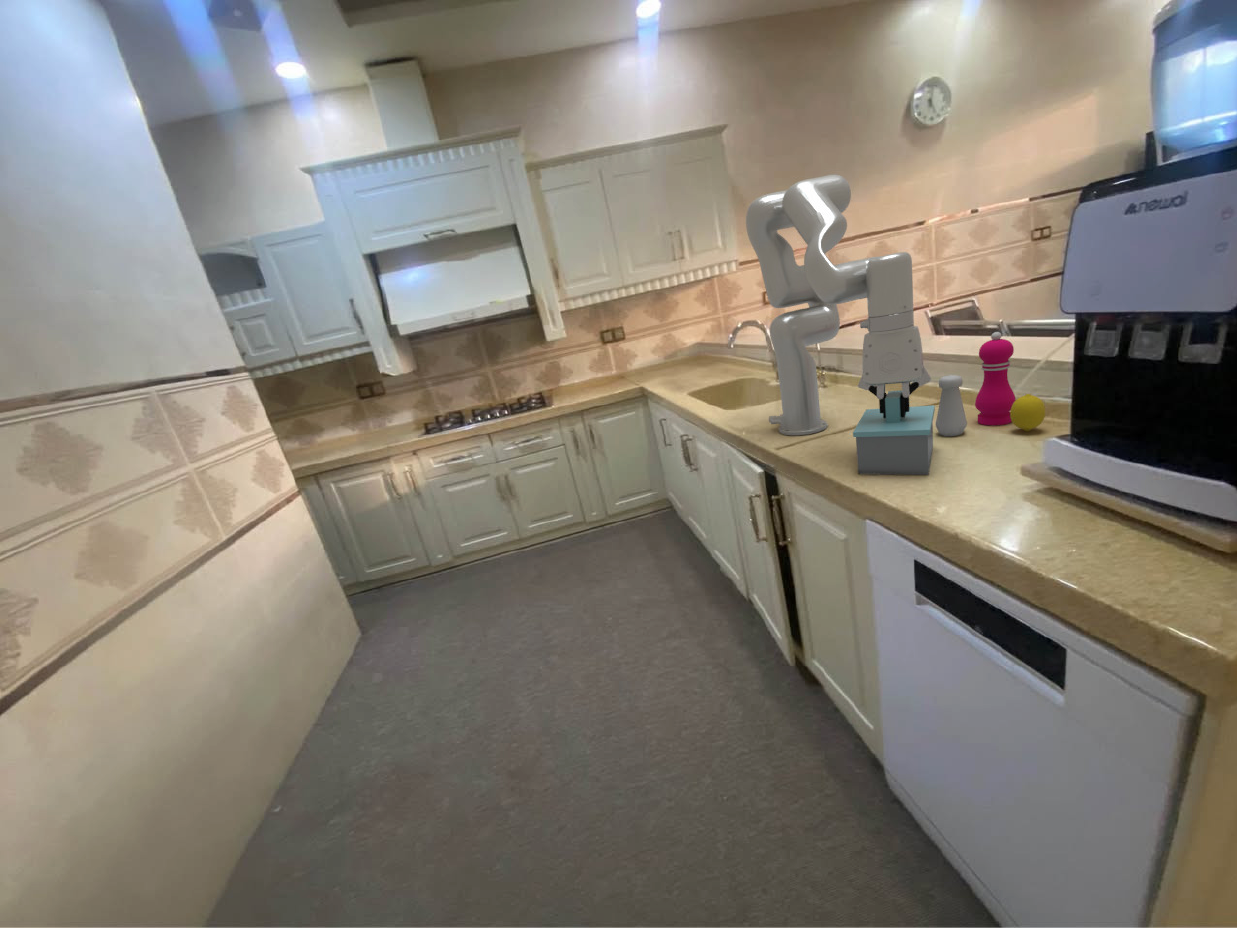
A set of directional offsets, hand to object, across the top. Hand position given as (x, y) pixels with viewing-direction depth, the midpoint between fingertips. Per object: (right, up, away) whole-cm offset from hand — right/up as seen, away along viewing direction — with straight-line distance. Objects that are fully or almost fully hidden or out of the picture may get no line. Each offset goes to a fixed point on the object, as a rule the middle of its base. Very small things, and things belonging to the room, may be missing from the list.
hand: (894, 415), depth 99 cm
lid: (+1, -3, +1) cm, 3 cm away
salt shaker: (+19, -3, +11) cm, 22 cm away
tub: (+2, -9, +3) cm, 10 cm away
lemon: (+29, -3, +3) cm, 29 cm away
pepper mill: (+29, 0, +12) cm, 32 cm away
